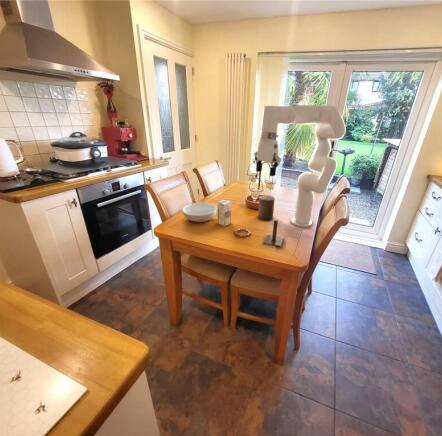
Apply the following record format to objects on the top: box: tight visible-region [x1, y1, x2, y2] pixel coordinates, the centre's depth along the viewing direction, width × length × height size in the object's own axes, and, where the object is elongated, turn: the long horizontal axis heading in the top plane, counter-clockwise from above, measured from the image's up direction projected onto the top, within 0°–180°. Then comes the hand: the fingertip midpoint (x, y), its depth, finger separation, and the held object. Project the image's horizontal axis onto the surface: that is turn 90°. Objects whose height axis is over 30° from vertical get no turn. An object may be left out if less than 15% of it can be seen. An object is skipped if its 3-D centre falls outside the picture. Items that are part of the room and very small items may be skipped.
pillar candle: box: [257, 194, 275, 222], centre depth 148 cm, size 10×10×15 cm
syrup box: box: [217, 199, 232, 227], centre depth 137 cm, size 6×6×14 cm
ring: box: [233, 228, 252, 238], centre depth 130 cm, size 9×9×2 cm
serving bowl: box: [182, 201, 218, 223], centre depth 145 cm, size 21×21×7 cm
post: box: [263, 218, 284, 249], centre depth 121 cm, size 9×9×13 cm
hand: (265, 173), depth 112 cm, fingers open, 9 cm apart
